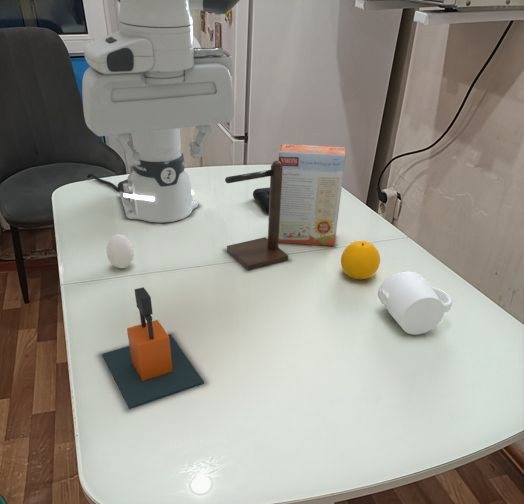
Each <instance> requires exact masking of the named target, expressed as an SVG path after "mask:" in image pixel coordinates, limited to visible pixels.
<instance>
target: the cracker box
mask: <svg viewBox="0 0 524 504" xmlns="http://www.w3.org/2000/svg"><path fill="white" fill-rule="evenodd" d="M278 161H279V162H281V164H282V166H283V171H282V188H281V206H280V223H279V241H278V243H284V244H298V245H315V246H328V247H329V246H332V247H334V246H335V244H336V237H337V236H336V235H337V229H338V220H339V214H340V213H339V211H340V203H341V196H342V190H343V189H342V188H343V181H344V171H345V163H346V148H345V146H343V147H342V146H327V145H309V144H308V145H307V144H292V143H291V144H289V143H280V146H279V151H278Z"/></svg>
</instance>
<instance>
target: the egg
mask: <svg viewBox="0 0 524 504" xmlns="http://www.w3.org/2000/svg"><path fill="white" fill-rule="evenodd" d="M106 255H107V259H108V261H109V262H110V264H112V265H113V266H114V267H115V268H118V269H125V268H128V267H130V265H131V264H132V262H133V260H134V255H135V254H134V249H133V245H132V243H131V241H130V240H129V239H128V238H127V237H126V236H125V235H123V234H120V233H115V234H114V235H112V236H111V237H110V238H109V240H108V242H107V246H106Z"/></svg>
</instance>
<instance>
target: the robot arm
mask: <svg viewBox="0 0 524 504" xmlns="http://www.w3.org/2000/svg"><path fill="white" fill-rule="evenodd" d="M116 2H118V4H120V5H119V12H118V23H119V30H117V31H114V32H112V33H110V34H108V35H105V36H102V37H100V38H98V39H96V40H93V41H90V42H89V43H88V42H87V44H85V45H84V47H83V55H84V59H85V61H86V63H87V64H88V65H89V67H88V68H87V69H85V71H84V73H83V77H82V81H81V83H82V86H81V91H82V93H81V94H82V97H81V98H82V109H83V110H82V111H83V117H84V122H85V124H86V126H87V128H88V130H90V131H91V132H92V133H93V134H94V135H96V136H97V137H107V136H114V138H115V139H116V141H117V142H118V144H119V146H121V148H122V149H123V151H124V152H125V153H124V154H125V160H126V163H127V165H128V166H129V167H132V171H131V172H130V173H129V175H128V176H127V179H124V180H122V181H119V182H118V184H117V186H116V185H115V184H114V183H113V182H111V181H107V180H106V179H105V180H104V179H103V178H102V179H101V178H99V177H98V176H96V175H95V174H93V173H88V174H87V176H86V178H88V179H89V178H91V177H92V178H93V179H94V180H96V181H98V182H99V183H102V184H105V185H108V186H111V188H113V189H114V190H116V192H122V193H120V199H121V202H122V203H121V204H122V205H123V209H124V213H125V215H126V218H127V219H128V220H129V219H130V220H140V221H145V222H149V223H171V222H176V221H177V222H178V221H181V220H183V219H185V218H188V217H189V216H190V215H191V214H192V212H193V210H194V209H196V208H198V207H199V203H198V201H197V200H196V199H194V198H193V196H194V195H195V191H194V190H193V189H192V182H191V176H190V175H189V174H188V173H187V172H185V158H184V154H183V152H182V139H181V129H182V128H183V129H184V128H191V127H195V129H196V130H197V134H196V136H195V138H194V141H191V142H189V143H188V147H189V155H190V157H192V158H193V159H196V158H203V157H204V145H206V142H207V141H208V139H209V136H210V134H211V129H212V128H211V126H212V125H219V124H229V123H230V122H231V121H232V119H233V118H234V115H235V98H234V88H233V81H232V79H233V75H234V59H233V57H232V55H231V54H230V53H229V52H228V51H226V50H224V48H223V47H221V46H214V47H202V45H201V44H200V43H199V41H198V39H197V38H196V37H195V36H194V19H193V15H192V11H203V12H204V13H212V14H218V15H219V14H220V15H226V14H227V13H228V12H230V11H231V10H232V9H233V8H234V7H235V6H236V5H237V4H238V3H239V2H240V0H116ZM130 135H131V136H130ZM130 137H131V138H132V140H131V138H130ZM131 141H132V146H133V148H131V147H130V146H129V144H128V143H129V142H131Z"/></svg>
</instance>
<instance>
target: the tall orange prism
mask: <svg viewBox="0 0 524 504" xmlns="http://www.w3.org/2000/svg"><path fill="white" fill-rule="evenodd" d="M134 296H135V297H134V298H135V303H136V308H137V309H138V312H139V318H140V324H137V325H134V326H133V325H132V326H130V327H127V328H126V333H127V340H128V345H129V346H130V352H131V358H132V363H133V365H134V367H135V369H136V370H137V372H138V374H139V376H140V377H141V379H142V381H145V380H148V379H151V378H154V377H157V376H160V375H163V374H166V373H169V372H172V371H173V370H172V360H171V350H170V340H169V336H168V335H169V334H168V333H167V332H166V330H165V328H164V327H163V326H162V324H161V323H160V322H159V320H158V319H155V320H153V317H152V315H154V313H153V306H152V297H151V296H150V294H149V292H148V291H147V290H146V288H145V287H144V286H143V287H138V288H135V289H134Z"/></svg>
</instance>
